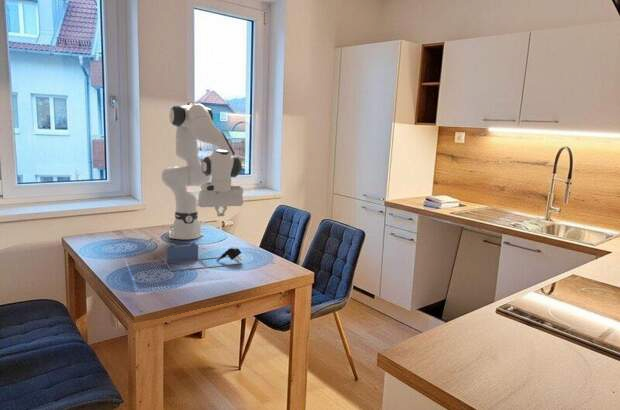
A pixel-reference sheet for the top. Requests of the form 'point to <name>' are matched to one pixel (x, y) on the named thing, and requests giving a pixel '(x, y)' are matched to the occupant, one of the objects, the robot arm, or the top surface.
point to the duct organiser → (187, 255)
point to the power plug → (231, 254)
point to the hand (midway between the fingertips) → (220, 216)
